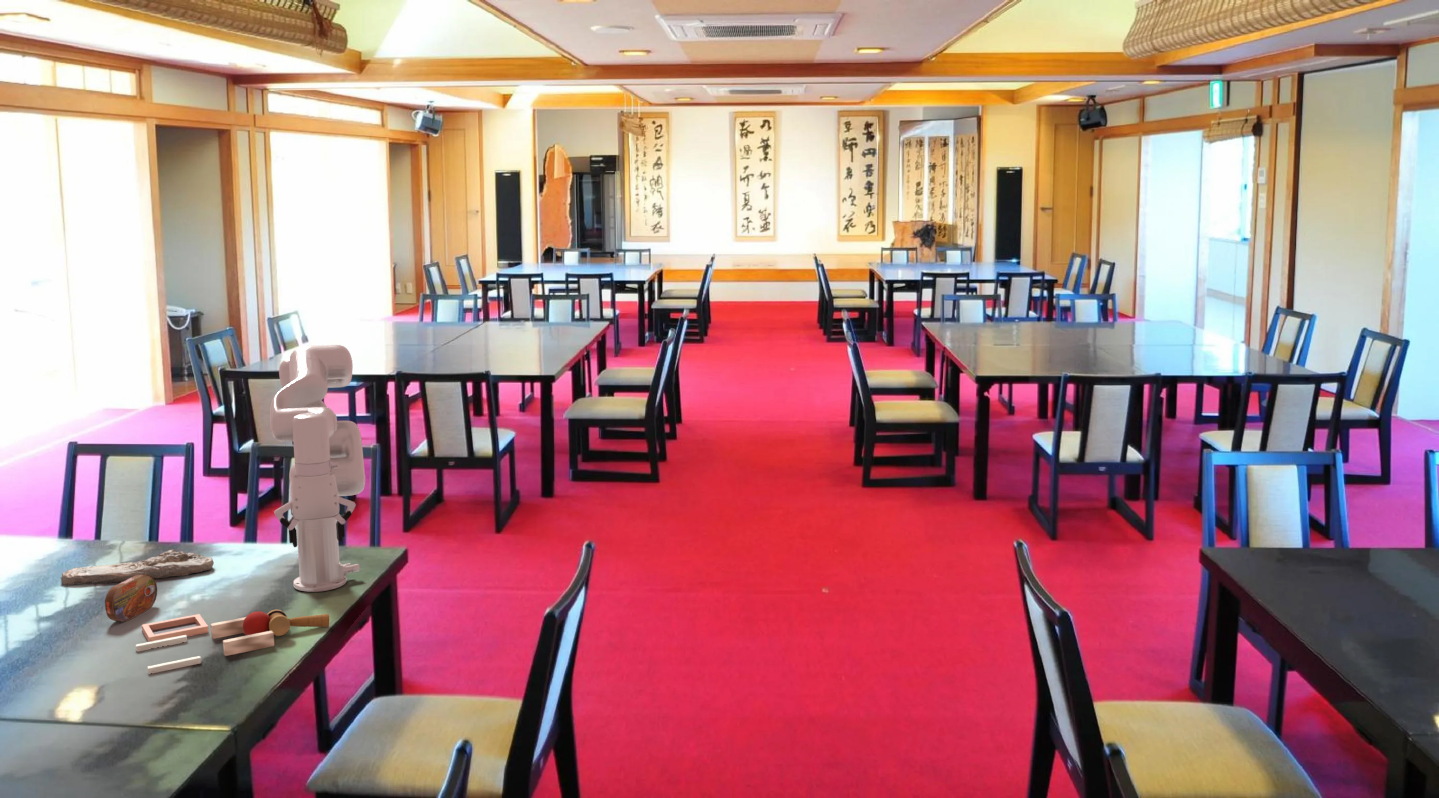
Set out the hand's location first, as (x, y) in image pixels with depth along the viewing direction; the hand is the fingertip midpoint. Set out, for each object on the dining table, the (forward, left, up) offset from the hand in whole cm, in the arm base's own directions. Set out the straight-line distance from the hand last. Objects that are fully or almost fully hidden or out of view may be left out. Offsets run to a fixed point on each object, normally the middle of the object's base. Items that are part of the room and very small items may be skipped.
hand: (317, 542), depth 270 cm
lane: (+18, +3, -18) cm, 26 cm away
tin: (+35, -28, -19) cm, 49 cm away
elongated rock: (+29, -57, -19) cm, 67 cm away
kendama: (+9, +3, -19) cm, 21 cm away
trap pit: (+29, -11, -18) cm, 36 cm away
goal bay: (+33, +3, -18) cm, 38 cm away
